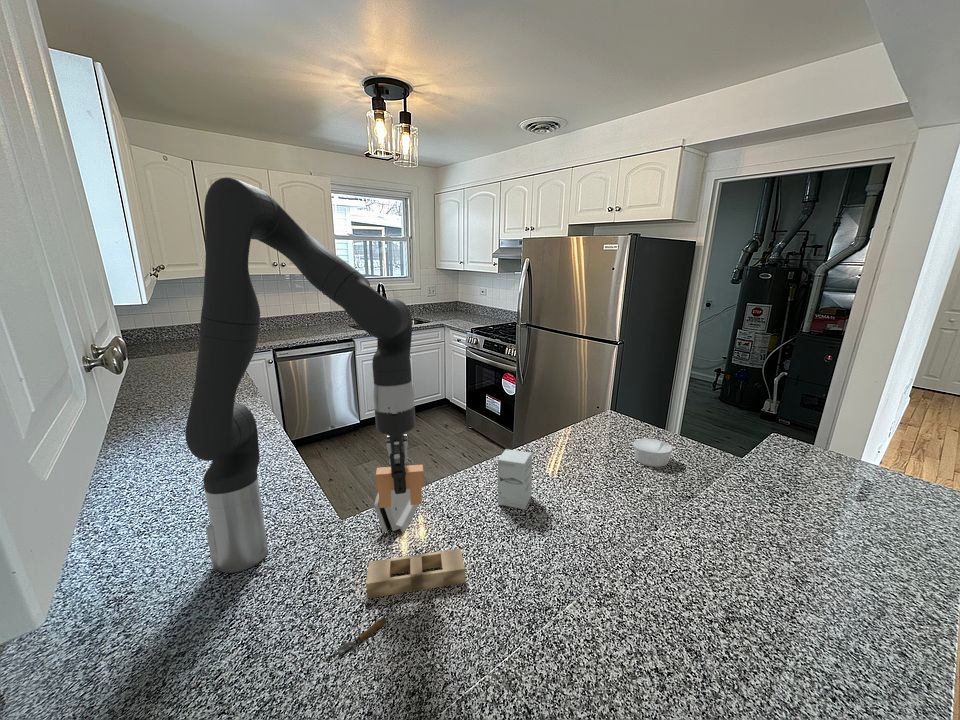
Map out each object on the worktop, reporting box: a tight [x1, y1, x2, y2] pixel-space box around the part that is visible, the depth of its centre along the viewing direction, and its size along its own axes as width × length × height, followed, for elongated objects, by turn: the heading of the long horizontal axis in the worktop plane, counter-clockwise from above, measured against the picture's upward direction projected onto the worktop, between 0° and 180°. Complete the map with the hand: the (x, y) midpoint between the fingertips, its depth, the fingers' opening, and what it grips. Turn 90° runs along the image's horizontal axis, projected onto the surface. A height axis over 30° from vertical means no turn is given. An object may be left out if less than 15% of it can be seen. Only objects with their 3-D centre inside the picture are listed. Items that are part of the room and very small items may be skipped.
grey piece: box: [373, 489, 420, 534], centre depth 98 cm, size 17×5×10 cm, turn 173°
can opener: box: [334, 616, 387, 658], centre depth 63 cm, size 9×2×1 cm, turn 132°
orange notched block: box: [375, 464, 425, 508], centre depth 78 cm, size 9×3×7 cm, turn 101°
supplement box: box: [497, 448, 533, 510], centre depth 101 cm, size 7×7×13 cm
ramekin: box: [632, 438, 673, 468], centre depth 123 cm, size 11×11×5 cm
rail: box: [365, 548, 466, 599], centre depth 75 cm, size 18×6×3 cm, turn 101°
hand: (400, 487), depth 78 cm, fingers closed on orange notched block, 3 cm apart
